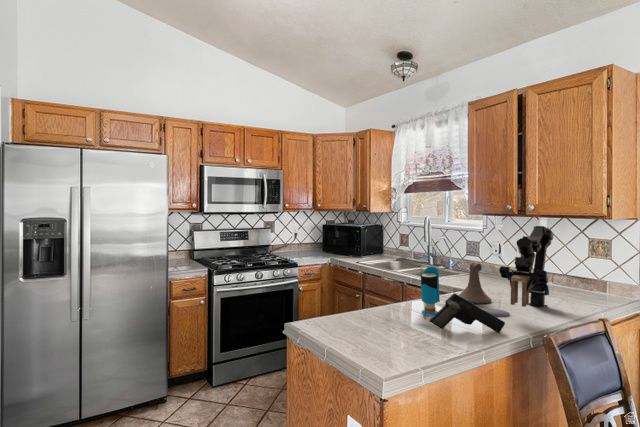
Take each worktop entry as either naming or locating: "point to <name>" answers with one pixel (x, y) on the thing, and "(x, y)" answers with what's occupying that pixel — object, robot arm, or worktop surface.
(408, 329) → the worktop surface
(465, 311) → the handgun
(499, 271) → the robot arm
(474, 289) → the sculpture
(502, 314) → the mat
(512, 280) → the stool
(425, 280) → the security camera
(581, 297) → the worktop surface
